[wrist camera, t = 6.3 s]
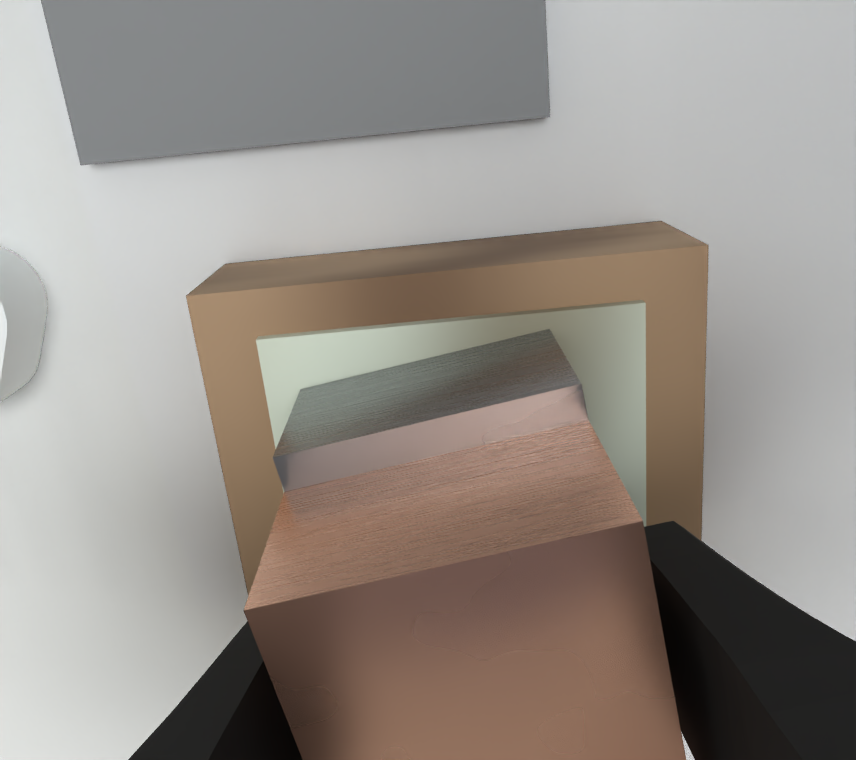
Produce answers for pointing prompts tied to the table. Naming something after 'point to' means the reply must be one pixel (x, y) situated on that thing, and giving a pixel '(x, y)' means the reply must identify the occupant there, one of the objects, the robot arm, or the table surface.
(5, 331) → the mounting plate
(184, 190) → the table surface
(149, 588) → the table surface
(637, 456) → the stand
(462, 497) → the block
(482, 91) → the mat
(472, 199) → the table surface
